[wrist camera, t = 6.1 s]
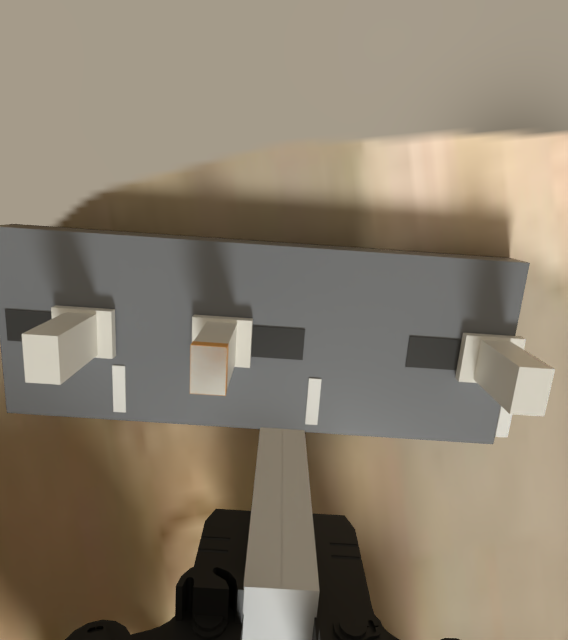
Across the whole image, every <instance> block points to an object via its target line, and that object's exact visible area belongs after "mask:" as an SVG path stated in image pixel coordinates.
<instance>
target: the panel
mask: <svg viewBox="0 0 568 640" xmlns="http://www.w3.org/2000/svg"><path fill="white" fill-rule="evenodd" d="M529 264H530V263H528V262H524V261H520V260H516V259H512V258H502V257H488V256H473V255H459V254H444V253H429V252H415V251H400V250H385V249H371V248H356V247H342V246H327V245H312V244H298V243H283V242H268V241H254V240H239V239H225V238H210V237H195V236H181V235H166V234H152V233H137V232H122V231H108V230H93V229H78V228H64V227H49V226H34V225H20V224H10V225H0V343H1V353H2V364H3V375H4V386H5V397H6V408H7V413H19V414H34V415H49V416H65V417H80V418H96V419H111V420H127V421H142V422H158V423H173V424H188V425H204V426H219V427H235V428H250V429H260V427H263V428H278V429H294V430H305V432H312V433H327V434H343V435H358V436H374V437H389V438H405V439H420V440H436V441H451V442H467V443H482V444H493V443H494V438H495V437H508V433H509V428H510V423H511V418H512V414H509V413H508V412H507V411H506V410H505V409H504V408H503V407H502V406H501V405H500V404H499V403H498V402H497V401H495V400H494V399H493V398H492V397H491V396H490V395H489V394H488V393H487V392H486V391H485V390H484V389H483V388H482V387H481V386H480V385H479V384H478V383H470V382H458V381H457V379H456V378H455V376H456V370H457V365H458V359H459V353H460V347H461V341H462V335H463V333H477V334H492V335H507V336H515V333H516V328H517V323H518V318H519V314H520V309H521V304H522V299H523V294H524V289H525V284H526V279H527V274H528V269H529ZM56 305H58V306H73V307H88V308H103V309H115V330H116V356H115V357H114V358H113V359H106V358H93V359H92V360H91V361H90V362H88V363H87V364H86V365H85V366H83V367H82V368H81V369H80V370H78V371H77V372H76V373H75V374H73V375H72V376H71V377H70V378H68V379H67V380H66V381H65V382H63V383H62V384H61V385H56V384H41V383H25V371H24V359H23V346H22V333H24V332H26V331H28V330H30V329H32V328H34V327H36V326H38V325H41V324H43V323H45V322H47V321H49V320H51V319H52V316H51V307H53V306H56ZM193 315H208V316H223V317H238V318H253V327H252V346H251V365H250V368H243V367H234V370H233V373H232V376H231V379H230V382H229V385H228V388H227V393H226V396H219V395H204V394H190V346H191V343H192V317H193Z"/></svg>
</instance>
